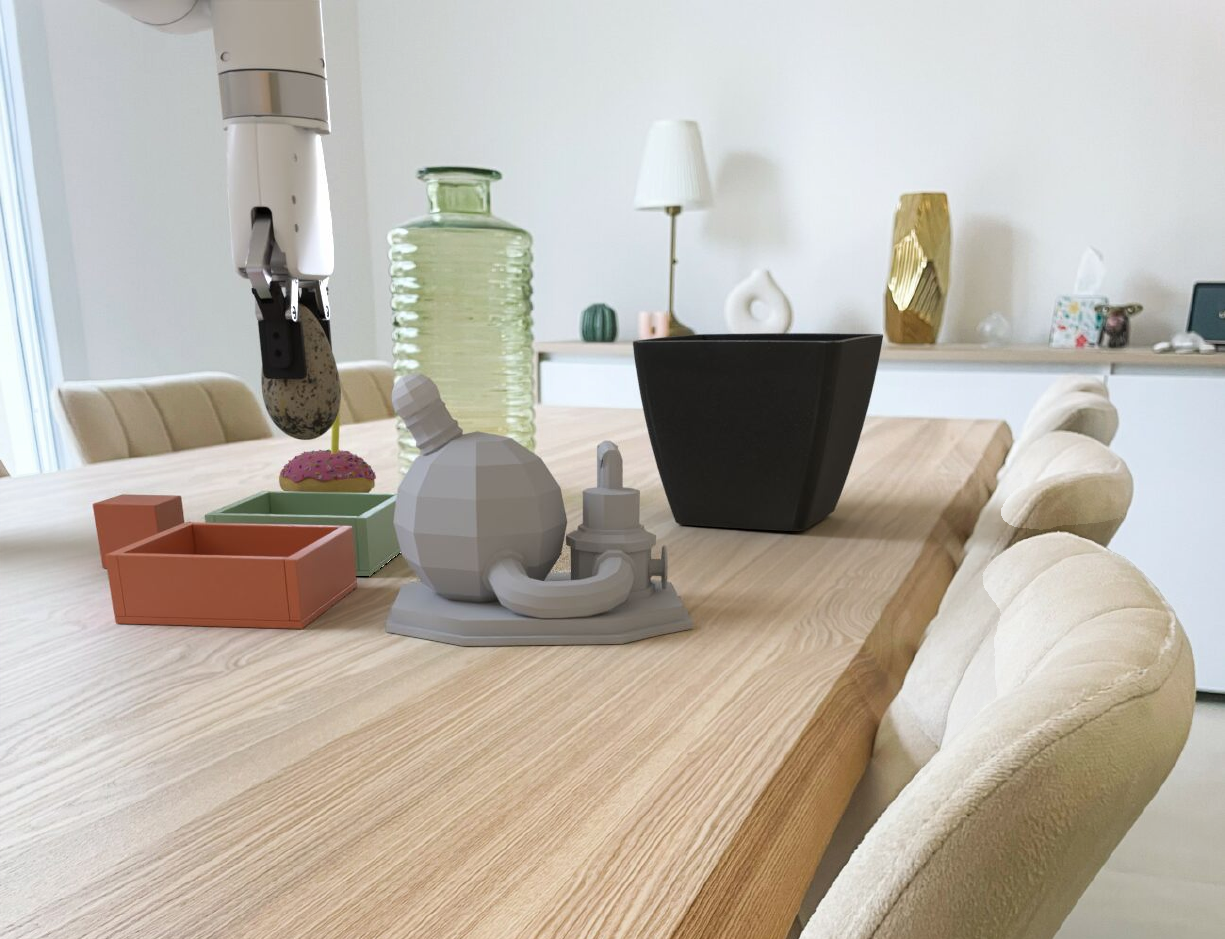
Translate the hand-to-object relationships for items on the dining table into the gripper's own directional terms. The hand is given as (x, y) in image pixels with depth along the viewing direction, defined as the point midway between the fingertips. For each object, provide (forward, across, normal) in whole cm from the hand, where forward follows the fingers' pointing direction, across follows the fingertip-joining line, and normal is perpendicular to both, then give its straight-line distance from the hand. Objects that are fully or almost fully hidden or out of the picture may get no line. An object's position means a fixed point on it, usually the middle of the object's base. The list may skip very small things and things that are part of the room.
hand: (299, 373), depth 95 cm
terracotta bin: (+14, +16, 0) cm, 21 cm away
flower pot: (+15, -24, +36) cm, 46 cm away
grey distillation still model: (+15, +17, +21) cm, 31 cm away
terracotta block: (+14, +3, -13) cm, 20 cm away
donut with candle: (+15, -14, -3) cm, 20 cm away
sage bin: (+14, 0, 0) cm, 14 cm away
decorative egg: (+5, 0, 0) cm, 5 cm away
